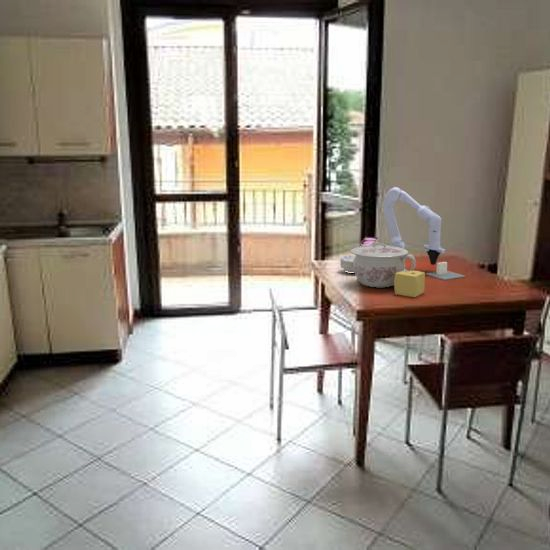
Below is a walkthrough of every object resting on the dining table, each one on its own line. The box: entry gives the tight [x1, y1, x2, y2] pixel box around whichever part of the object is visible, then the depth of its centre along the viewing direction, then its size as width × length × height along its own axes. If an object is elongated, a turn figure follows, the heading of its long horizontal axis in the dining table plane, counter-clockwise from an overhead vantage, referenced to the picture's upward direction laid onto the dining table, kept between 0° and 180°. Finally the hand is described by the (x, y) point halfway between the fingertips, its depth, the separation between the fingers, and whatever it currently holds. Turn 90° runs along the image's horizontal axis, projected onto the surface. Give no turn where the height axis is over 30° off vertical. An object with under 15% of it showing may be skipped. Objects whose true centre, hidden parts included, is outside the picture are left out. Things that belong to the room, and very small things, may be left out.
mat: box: [425, 270, 467, 281], centre depth 281 cm, size 14×14×1 cm
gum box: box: [359, 236, 379, 247], centre depth 309 cm, size 24×8×14 cm, turn 163°
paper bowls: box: [339, 254, 356, 272], centre depth 291 cm, size 15×15×8 cm
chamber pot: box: [350, 242, 417, 289], centre depth 264 cm, size 28×28×21 cm
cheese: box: [393, 270, 426, 298], centre depth 249 cm, size 10×11×10 cm
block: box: [435, 261, 448, 275], centre depth 282 cm, size 5×2×6 cm, turn 115°
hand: (433, 264), depth 287 cm, fingers closed
